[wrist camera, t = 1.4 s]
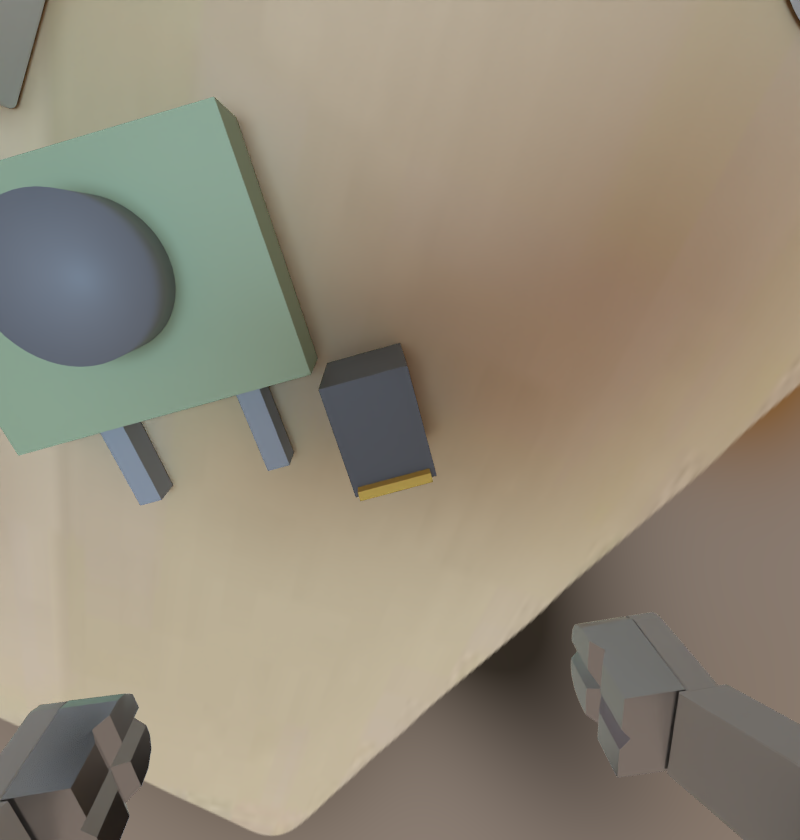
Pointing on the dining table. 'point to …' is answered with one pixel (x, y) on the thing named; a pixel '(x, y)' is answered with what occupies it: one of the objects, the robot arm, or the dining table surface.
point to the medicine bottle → (16, 44)
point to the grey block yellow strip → (377, 422)
